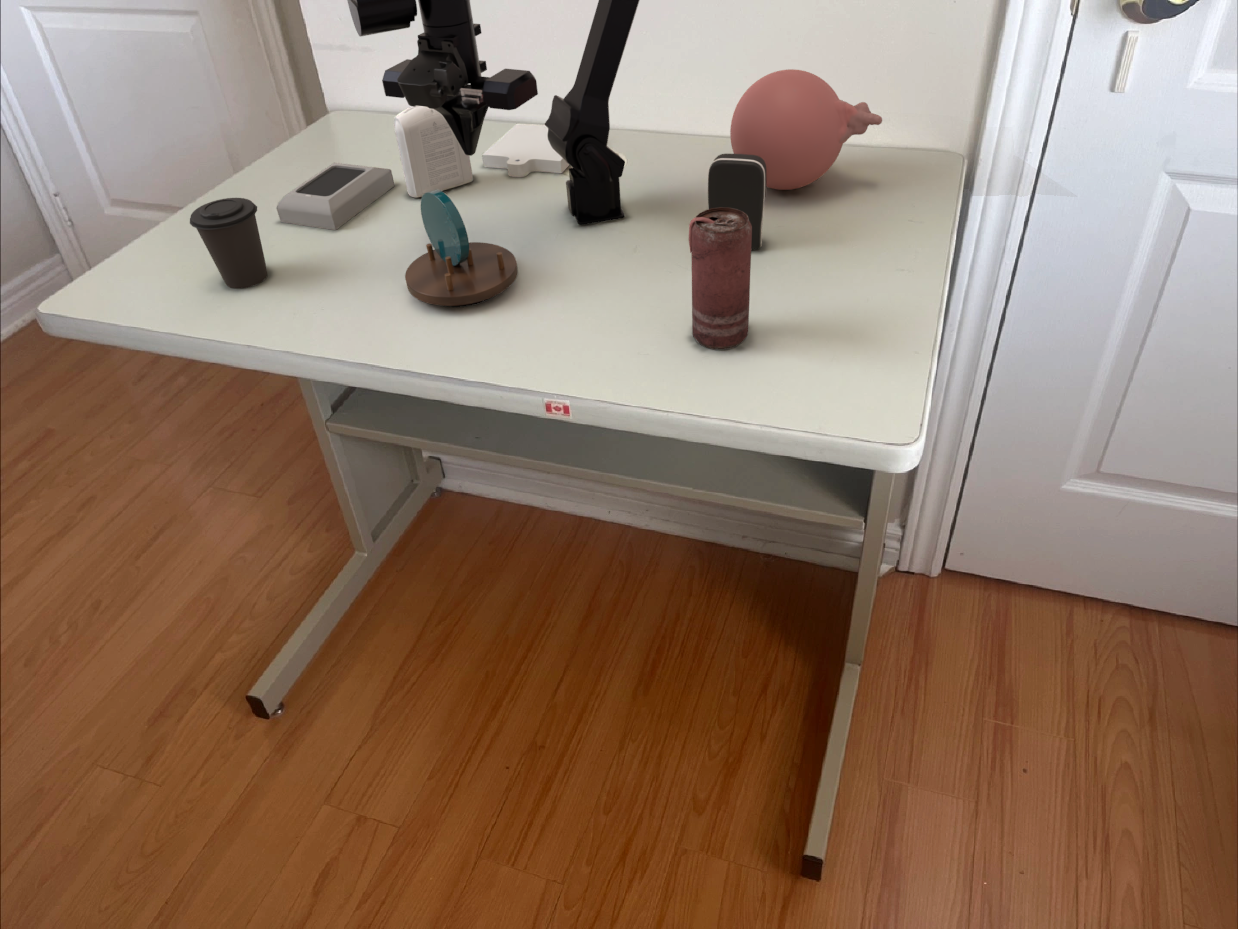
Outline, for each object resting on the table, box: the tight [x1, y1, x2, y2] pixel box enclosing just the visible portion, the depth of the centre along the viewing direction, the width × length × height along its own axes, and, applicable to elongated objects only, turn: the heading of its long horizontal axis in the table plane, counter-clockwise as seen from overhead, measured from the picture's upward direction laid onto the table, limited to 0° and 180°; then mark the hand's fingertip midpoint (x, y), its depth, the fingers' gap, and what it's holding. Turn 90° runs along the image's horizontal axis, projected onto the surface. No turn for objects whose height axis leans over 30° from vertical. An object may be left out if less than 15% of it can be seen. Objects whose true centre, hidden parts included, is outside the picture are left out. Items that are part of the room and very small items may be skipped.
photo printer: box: [393, 106, 474, 199], centre depth 134 cm, size 10×4×12 cm, turn 123°
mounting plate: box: [481, 122, 571, 178], centre depth 144 cm, size 18×13×2 cm
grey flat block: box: [275, 162, 396, 231], centre depth 134 cm, size 10×4×15 cm
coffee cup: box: [189, 197, 269, 290], centre depth 116 cm, size 8×8×10 cm
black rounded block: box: [707, 153, 767, 250], centre depth 115 cm, size 7×4×11 cm, turn 74°
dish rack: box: [404, 190, 519, 307], centre depth 110 cm, size 14×14×10 cm
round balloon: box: [729, 68, 883, 191], centre depth 125 cm, size 15×20×15 cm
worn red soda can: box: [688, 207, 752, 351], centre depth 98 cm, size 6×6×14 cm
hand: (470, 154), depth 115 cm, fingers closed
